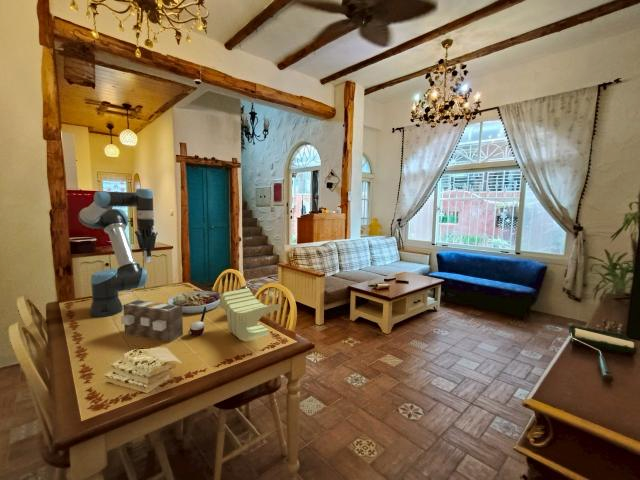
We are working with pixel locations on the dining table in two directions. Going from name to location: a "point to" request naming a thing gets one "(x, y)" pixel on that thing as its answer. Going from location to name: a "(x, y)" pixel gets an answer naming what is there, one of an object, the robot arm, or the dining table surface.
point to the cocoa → (197, 326)
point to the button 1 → (128, 319)
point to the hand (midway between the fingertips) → (147, 262)
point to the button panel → (154, 312)
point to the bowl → (195, 301)
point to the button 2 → (159, 325)
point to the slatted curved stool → (245, 314)
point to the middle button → (145, 321)
